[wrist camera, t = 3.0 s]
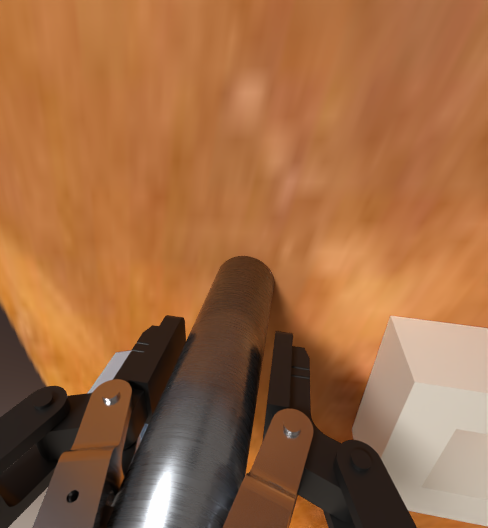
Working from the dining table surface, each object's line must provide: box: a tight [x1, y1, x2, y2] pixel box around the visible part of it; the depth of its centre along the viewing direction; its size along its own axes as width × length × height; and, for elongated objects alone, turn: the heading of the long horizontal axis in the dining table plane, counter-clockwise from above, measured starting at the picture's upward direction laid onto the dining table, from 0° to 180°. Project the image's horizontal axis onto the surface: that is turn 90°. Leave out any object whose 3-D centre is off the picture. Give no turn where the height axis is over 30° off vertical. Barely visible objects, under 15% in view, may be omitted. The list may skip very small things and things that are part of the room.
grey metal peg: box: [106, 256, 274, 528], centre depth 11 cm, size 3×3×16 cm
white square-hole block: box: [352, 316, 488, 526], centre depth 17 cm, size 10×10×4 cm
